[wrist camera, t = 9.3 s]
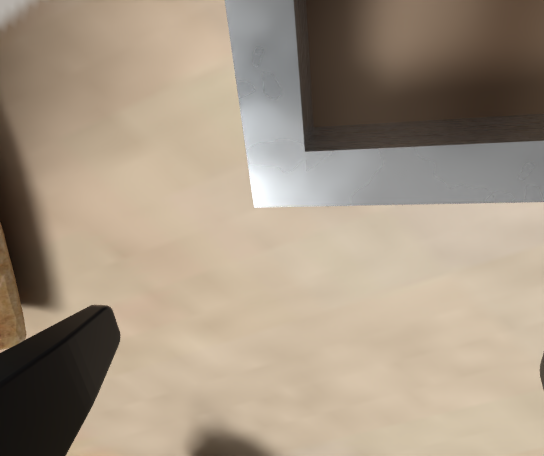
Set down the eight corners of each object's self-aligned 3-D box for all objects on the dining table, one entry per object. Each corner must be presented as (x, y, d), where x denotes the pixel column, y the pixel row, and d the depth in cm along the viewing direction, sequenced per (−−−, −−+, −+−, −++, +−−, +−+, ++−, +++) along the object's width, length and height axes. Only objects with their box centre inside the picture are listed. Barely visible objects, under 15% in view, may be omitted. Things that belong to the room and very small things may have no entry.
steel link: (1003, -268, 10) (1240, -365, 7) (796, 158, 14) (892, 195, 12) (234, -121, 13) (203, -148, 11) (269, 176, 18) (254, 207, 15)
